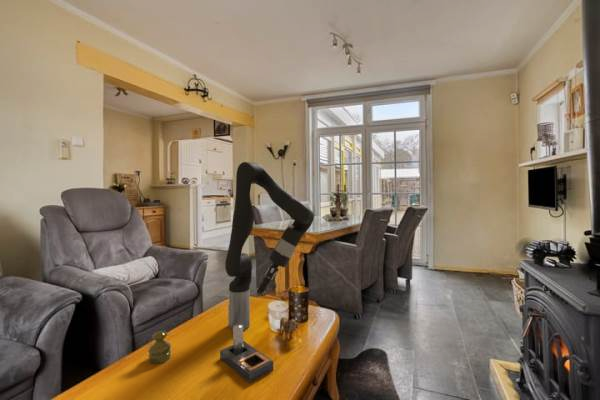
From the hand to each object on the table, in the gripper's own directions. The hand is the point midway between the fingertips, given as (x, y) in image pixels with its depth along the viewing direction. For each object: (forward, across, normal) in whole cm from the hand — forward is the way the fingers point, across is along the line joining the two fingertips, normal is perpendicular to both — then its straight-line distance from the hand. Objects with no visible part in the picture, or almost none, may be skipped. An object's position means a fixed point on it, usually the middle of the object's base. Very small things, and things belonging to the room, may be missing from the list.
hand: (262, 289), depth 110 cm
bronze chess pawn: (+40, +3, -20) cm, 45 cm away
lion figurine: (+16, -14, +20) cm, 29 cm away
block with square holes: (+24, +6, +8) cm, 26 cm away
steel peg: (+26, +2, +5) cm, 26 cm away
